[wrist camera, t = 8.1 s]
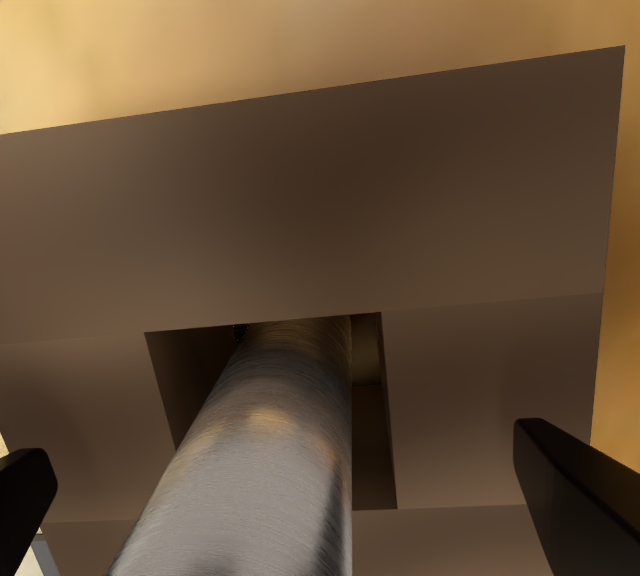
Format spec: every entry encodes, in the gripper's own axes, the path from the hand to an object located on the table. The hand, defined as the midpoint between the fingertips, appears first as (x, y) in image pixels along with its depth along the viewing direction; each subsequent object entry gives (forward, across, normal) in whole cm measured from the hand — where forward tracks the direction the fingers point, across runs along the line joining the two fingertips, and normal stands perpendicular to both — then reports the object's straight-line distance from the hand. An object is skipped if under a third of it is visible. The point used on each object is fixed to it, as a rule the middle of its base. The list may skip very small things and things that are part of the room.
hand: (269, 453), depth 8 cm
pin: (+6, 0, 0) cm, 6 cm away
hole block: (+6, 0, 0) cm, 6 cm away
